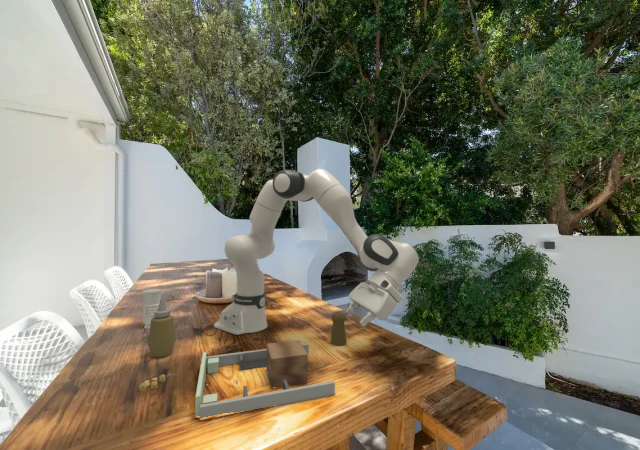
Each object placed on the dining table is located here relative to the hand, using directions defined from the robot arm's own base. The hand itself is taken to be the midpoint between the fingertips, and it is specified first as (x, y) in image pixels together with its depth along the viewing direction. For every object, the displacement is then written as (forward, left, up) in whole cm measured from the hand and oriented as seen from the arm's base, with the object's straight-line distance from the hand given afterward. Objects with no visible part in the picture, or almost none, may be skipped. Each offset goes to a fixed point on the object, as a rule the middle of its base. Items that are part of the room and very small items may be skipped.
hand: (354, 319), depth 88 cm
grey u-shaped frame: (-21, -18, -14) cm, 31 cm away
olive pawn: (-10, +14, -14) cm, 22 cm away
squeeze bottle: (-61, -18, -14) cm, 65 cm away
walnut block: (-16, -14, -14) cm, 26 cm away
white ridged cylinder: (-87, -2, -14) cm, 88 cm away
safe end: (-32, -28, -14) cm, 44 cm away
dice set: (-47, -32, -15) cm, 59 cm away
